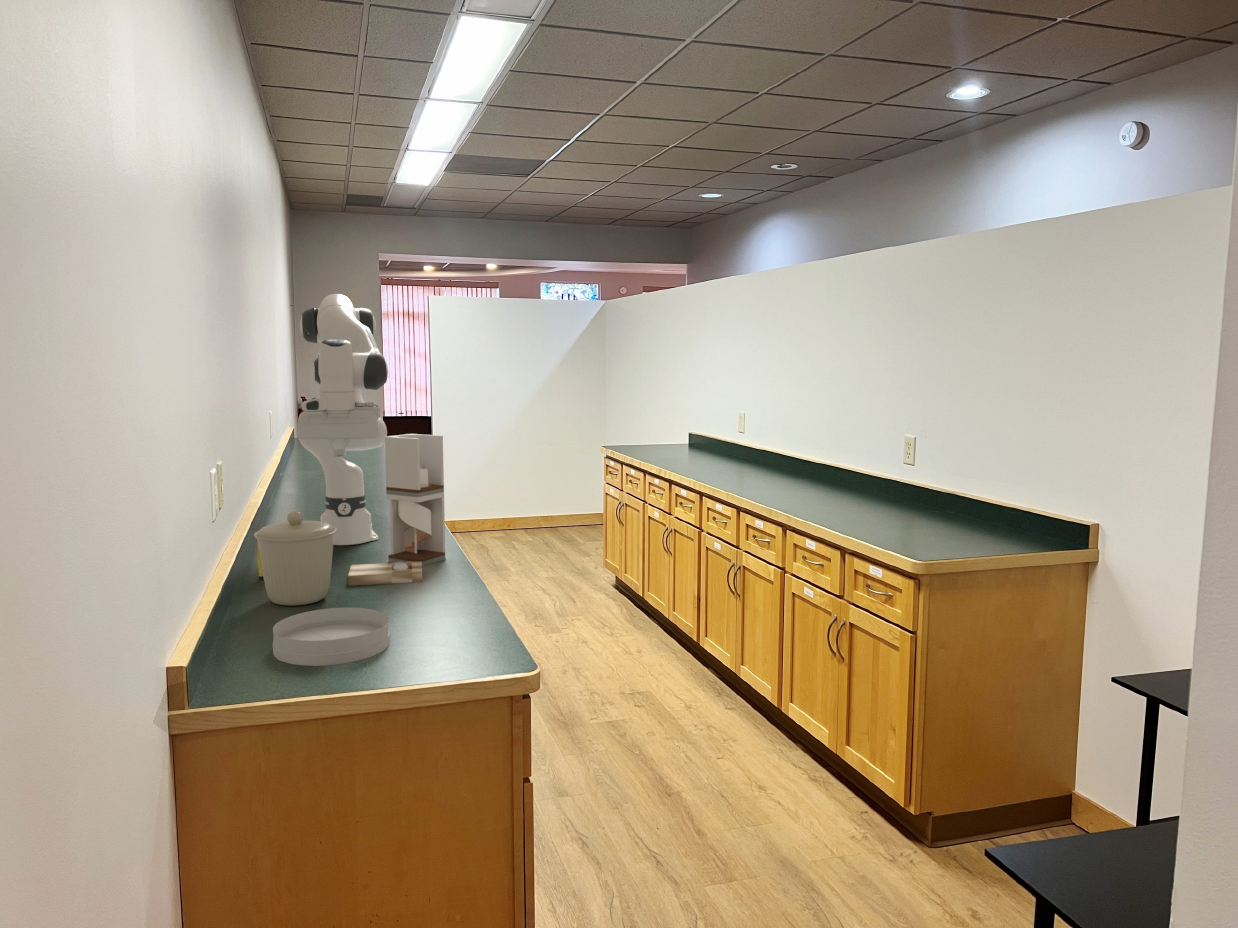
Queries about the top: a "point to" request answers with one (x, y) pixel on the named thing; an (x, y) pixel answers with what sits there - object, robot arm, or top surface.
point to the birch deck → (384, 573)
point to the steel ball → (400, 566)
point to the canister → (296, 559)
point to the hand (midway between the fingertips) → (339, 456)
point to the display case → (415, 497)
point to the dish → (331, 636)
